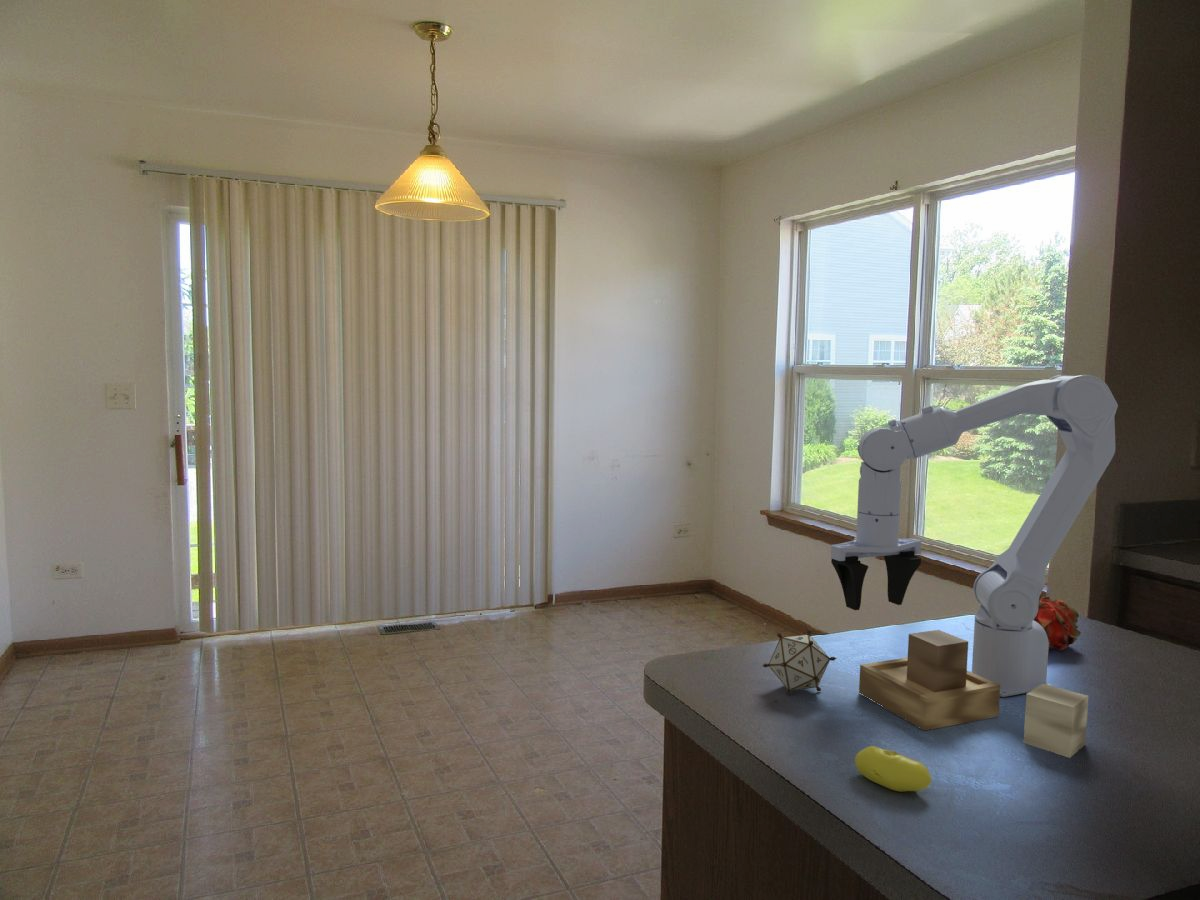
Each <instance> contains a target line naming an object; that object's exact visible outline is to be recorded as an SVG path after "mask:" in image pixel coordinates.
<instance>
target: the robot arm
mask: <svg viewBox="0 0 1200 900" xmlns="http://www.w3.org/2000/svg"><path fill="white" fill-rule="evenodd" d="M1118 407H1119V405H1118V402H1117V400H1116V399H1115V397H1114V395H1113V393H1112V391H1111V389H1110V388H1109V386H1108V384H1107V383H1106V382H1105V381H1104V380H1103V379H1101V378H1100V377H1097V376H1095V375H1091V374H1080V375H1070V374H1069V375H1068V374H1059V375H1054V376H1052V377H1051V378H1048V379H1040V380H1035V381H1031V382H1027V383H1024V384H1021V385H1020V384H1019V385H1017V386H1014V387H1012V388H1009V389H1007V390H1004V391H1002V392H1000V393H997V394H994V395H991V396H989V397H987V398H984V399H981V400H979V401H977V402H973V403H971V404H969V405H966V406H964V407H961V408H959V409H956V410H950V409H949V408H946V407H944V406H937V407H934V408H933V405H926V406H923V407H922V408H921V409H920V410H921V412H920V413H917V414H915V415H911V416H909V417H906V418H903V419H900V420H899V421H898V420H897V421H896V419H891V420H888V422H887V424H888V428H886V427H875V428H871V429H869V430H868V431H866V432H865V433H864V434H863V436H861V437H860V440H859V443H858V444H859V445H857V453H858V455H859V457H860V459H861V460H862V461H861V462H860V468H859V474H860V478H859V480H858V489H857V490H858V492H857V493H858V494H857V509H856V510H857V512H856V513H857V515H856V537H854V538H853V540H849V541H846V542H842V543H837V544H831V545H830V560H831V564H832V566H833V568H834V570H835V572H836V574H837V576H838V578H839V582H840V585H841V588H842V593H843V595H844V600H845V607H846V608H849V609H851V610H853V611H859V610H860V608H861V605H862V594H863V592H862V591H863V585H864V582H865V581H864V580H865V577H866V574H867V572H868V570H869V565H866V564H864V563H862V562H861V560H859V559H862V558H864V559H865V558H873V557H884V562H885V567H886V572H887V573H886V575H887V599H888V600H887V601H888V602H889V603H892V604H895V605H897V606H902V604H903V602H904V598H905V595H906V592H907V589H908V587H909V584H910V582H911V580H912V579H913V576H914V574H915V573H916V571H917V570H918V568H919V567H920V566H921V565H922V557H921V556H918V555H919V554H922V540H920V539H916V538H912V537H911V538H900V537H899V536H900V517H901V516H900V515H901V514H900V513H901V497H902V496H901V493H902V481H901V467H902V465H903V464H904V462H905V461H906V459H908V460H911V461H912V460H915V459H919V458H921V457H924V456H927V455H929V454H933V453H936V452H939V451H942V450H944V449H947V448H950V447H953V446H956V445H957V443H958V441H960V440H959V439H960V437H962V434H963V433H964V432H965V433H966V432H968V431H970V430H971V431H972V430H975V429H978V428H981V427H984V426H987V425H990V424H993V423H997V422H1001V421H1003V420H1006V419H1009V418H1013V417H1016V416H1019V415H1023V414H1026V415H1036V416H1045V417H1047V418H1048V420H1049V421H1050V422H1051V423H1052V424H1053V425H1054V426H1055V427H1056V428H1057V431H1058V433H1059V435H1060V437H1061V439H1062V442H1063V444H1064V446H1065V449H1066V450H1065V451H1064V454H1063V455H1062V457H1061V459H1060V460H1059V461H1058V463H1057V465H1056V467H1055V469H1054V471H1053V472H1052V473H1051V476H1049V477H1050V478H1049V479H1048V481H1047V482H1046V484H1045V486H1044V488H1043V489H1042V491H1041V493H1040V494H1039V496H1038V497H1037V500H1036V501H1035V503H1034V504H1033V506H1032V508H1031V510H1030V512H1028V515H1027V517H1026V518H1025V520H1024V521H1023V523H1022V525H1021V526H1020V528H1019V530H1018V532H1017V533H1016V535H1015V536H1014V538H1013V540H1012V542H1011V544H1010V545H1009V546H1008V548H1007V549H1006V550H1005V551H1003V552H1002V553H1000V554H999V555H998V556H997V557H996V559H994V562H993V563H992V564H991V566H990V567H988V568H986V569H984V570H983V571H982V572H980V574H978V575H977V577H976V578H975V581H974V583H973V594H974V597H975V599H976V601H977V602H978V603H979V605H980V606H979V608H978V610H977V611H976V613H975V614H974V627H973V640H972V641H973V642H972V643H973V645H972V658H971V659H972V661H971V671H969V672H972V673H974V674H976V675H978V676H981V677H983V678H985V679H987V680H990V681H992V682H994V683H997V684H999V685H1000V697H999V698H1001V697H1002V698H1004V697H1006V698H1007V697H1010V696H1017V695H1020V694H1027V693H1029V692H1030V691H1032V690H1033V689H1035V688H1036V687H1038V686H1040V685H1041V684H1047V685H1050V686H1053V685H1052V684H1051V683H1048V682H1047V676H1048V675H1047V674H1048V662H1049V661H1048V660H1049V659H1048V658H1049V649H1048V648H1049V642H1048V637H1047V634H1046V632H1045V630H1044V629H1043V627H1042V626H1041V625H1040V624H1039V623H1037V622H1036V621H1034V619H1035V617H1036V615H1037V613H1038V605H1039V602H1040V596H1041V594H1042V592H1043V590H1044V589H1045V584H1046V569H1047V567H1048V566H1049V564H1050V562H1051V560H1052V559H1053V558H1054V556H1055V554H1056V553H1057V551H1058V549H1059V548H1060V545H1061V544H1062V542H1063V541H1064V539H1065V537H1066V536H1067V534H1068V532H1069V530H1070V529H1071V527H1072V526H1073V524H1074V522H1075V521H1076V519H1077V518H1078V516H1079V514H1080V513H1081V511H1082V509H1083V507H1084V506H1085V504H1086V502H1087V501H1088V499H1089V497H1090V496H1091V494H1092V493H1093V491H1094V489H1095V488H1096V486H1097V484H1098V483H1099V481H1100V479H1101V478H1102V476H1103V474H1104V473H1105V471H1106V470H1107V467H1108V466H1109V464H1110V462H1111V461H1112V459H1113V458H1114V455H1115V452H1116V425H1115V422H1116V421H1115V419H1116V418H1115V415H1116V412H1117V410H1118Z"/></svg>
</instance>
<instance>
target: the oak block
mask: <svg viewBox="0 0 1200 900" xmlns="http://www.w3.org/2000/svg"><path fill="white" fill-rule="evenodd" d="M907 660H908V656H907V657H902V658H896V659H887V660H881V661H877V662H875V661H874V662H868V663H861V664H859V666H860V667H859V681H858V682H859V683H858V684H859V685H858V686H859V687H858V694H859V693H861V694H863V695H864V696H866V697H868V698H870V699H872V700H873V701H875V702H876V703H878V704H880V705H882V706H883V707H884V708H883V707H882V708H883V709H885V708H886V709H885V710H887V709H888V710H890V711H892V712H893V713H892V712H891V713H892V714H894V713H895V714H897V715H899V716H900V717H899V716H898V717H899V718H901V717H902V718H901V719H903V718H904V719H906V720H907V722H908V721H909V722H908V723H910V722H911V723H910V724H912V723H913V724H915V725H916V726H915V725H914V726H915V727H917V726H918V727H917V728H919V727H920V728H921V729H920V728H919V729H920V730H922V729H923V730H922V731H924V730H926V731H930V730H929V729H931V730H935V729H940V728H946V727H950V726H951V727H952V726H956V725H962V724H966V723H971V722H976V721H982V720H986V719H991V718H996V717H999V713H1000V711H999V710H1000V698H1001V697H1000V685H999V684H997V683H994V682H992V681H990V680H987V679H985V678H983V677H981V676H978V675H976V674H974V673H972V672H970V671H969V670H967V675H966V687H964V688H958V689H952V690H947V691H941V692H933V691H931V690H929V689H927V688H925V687H923V686H921V685H919V684H917V683H915V682H913V681H911V680H909V679H907ZM876 703H875V704H876ZM878 704H877V705H878ZM888 710H887V711H888ZM890 711H889V712H890ZM895 714H894V715H895ZM897 715H896V716H897ZM904 719H903V720H904ZM906 720H905V721H906ZM913 724H912V725H913Z"/></svg>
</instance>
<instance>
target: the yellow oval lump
mask: <svg viewBox="0 0 1200 900" xmlns="http://www.w3.org/2000/svg"><path fill="white" fill-rule="evenodd" d="M854 764H855V767H856V769H857V771H858V772H859V773H860V774H861V775H862V776H863V777H865V778H866V779H868V780H869V781H871V782H873V783H876V784H878V785H880V786H882V787H884V788H887V789H889V790H892V791H895V792H899V793H901V792H902V793H904V792H919V791H923V790H925V789H927V788H928V787H929V786H930V785H931V783H932V777H931V773H930V772H929V770H928V769H927V767H926V766H925V765H924V764H923V763H922V762H920V761H918V760H915V759H912V758H909V757H908V756H906V755H902V754H900V753H898V752H896V751H895V750H888V749H884V748H881V747H878V746H875V745H870V746H867V747H864V749H862V750H860V751H859V752H858V753H857V754H856V755H855V757H854Z"/></svg>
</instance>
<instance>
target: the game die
mask: <svg viewBox="0 0 1200 900" xmlns="http://www.w3.org/2000/svg"><path fill="white" fill-rule="evenodd" d="M811 630H812V629H811V628H809V629H807V631H806V634H805V633H804V634H797V635H788V636H783V635H782V634H781V632H778V631H777V632H776V636H777V637H778V638H779V640H778V642H777V644H776V646H775V648H774V651H773V653H772V655H771V658H770V660H769V662H768V663H766V662H765V663H763V664H762V665H761V666H762V667H764V668H768V667H769V669H770V670H771V671H772V672H773V673H774V675H775V676H776V677H777V678H778V679H779V680H780V681H781V684H783V685H784V687H785V688H786V689H787V691H786V692H785V694H786V697H787V696H788V697H789V696H790V695H791V692H794V691H798V690H799V691H800V690H807V689H814V688H816V689H815V690H816V691H817V692H819V691H822V688H821V687H820V686H819V685H820V682H821V680H822V678H823V676H824V674H825V672H826V669H827V668H828V665H829V663H830V662H832V661H835V660H836V659H837V657H835V656H830V657H829V656H828V655H827V654H826V652H825V651H824V650H823V649H822V648H821V646H820V645H819V644H818V643H817V642H816V641H815V640H814V638H813V637H812V636H811V634H812V631H811Z"/></svg>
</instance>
